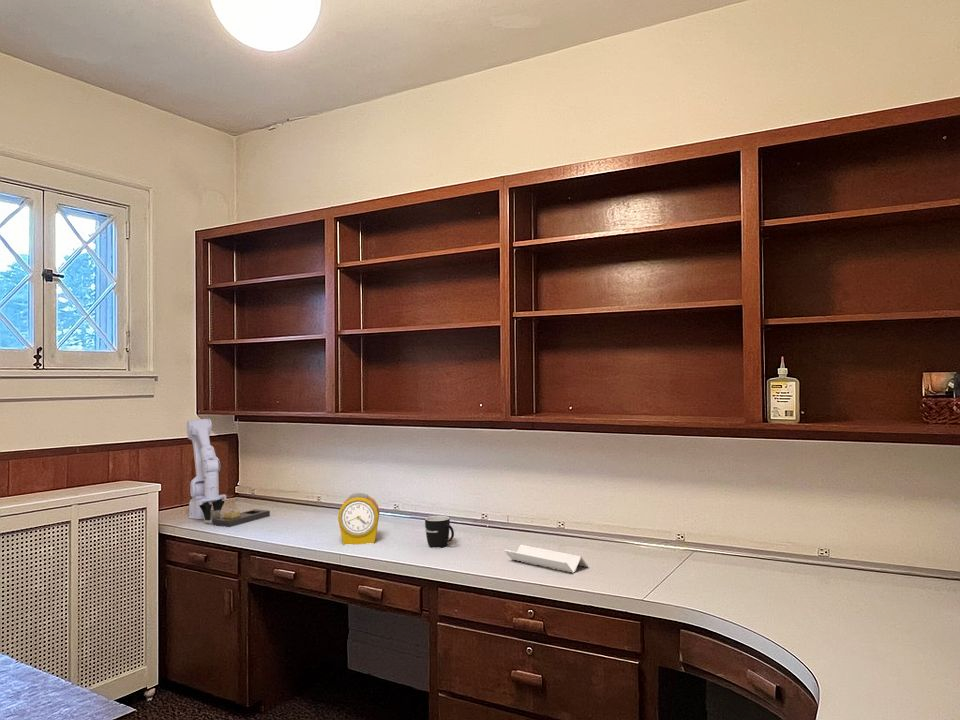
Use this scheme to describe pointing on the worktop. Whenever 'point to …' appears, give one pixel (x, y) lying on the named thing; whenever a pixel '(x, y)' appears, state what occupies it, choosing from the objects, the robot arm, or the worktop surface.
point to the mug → (438, 531)
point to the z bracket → (547, 558)
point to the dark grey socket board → (242, 518)
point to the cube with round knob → (213, 516)
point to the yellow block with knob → (231, 515)
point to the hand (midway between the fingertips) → (212, 518)
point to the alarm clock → (358, 519)
